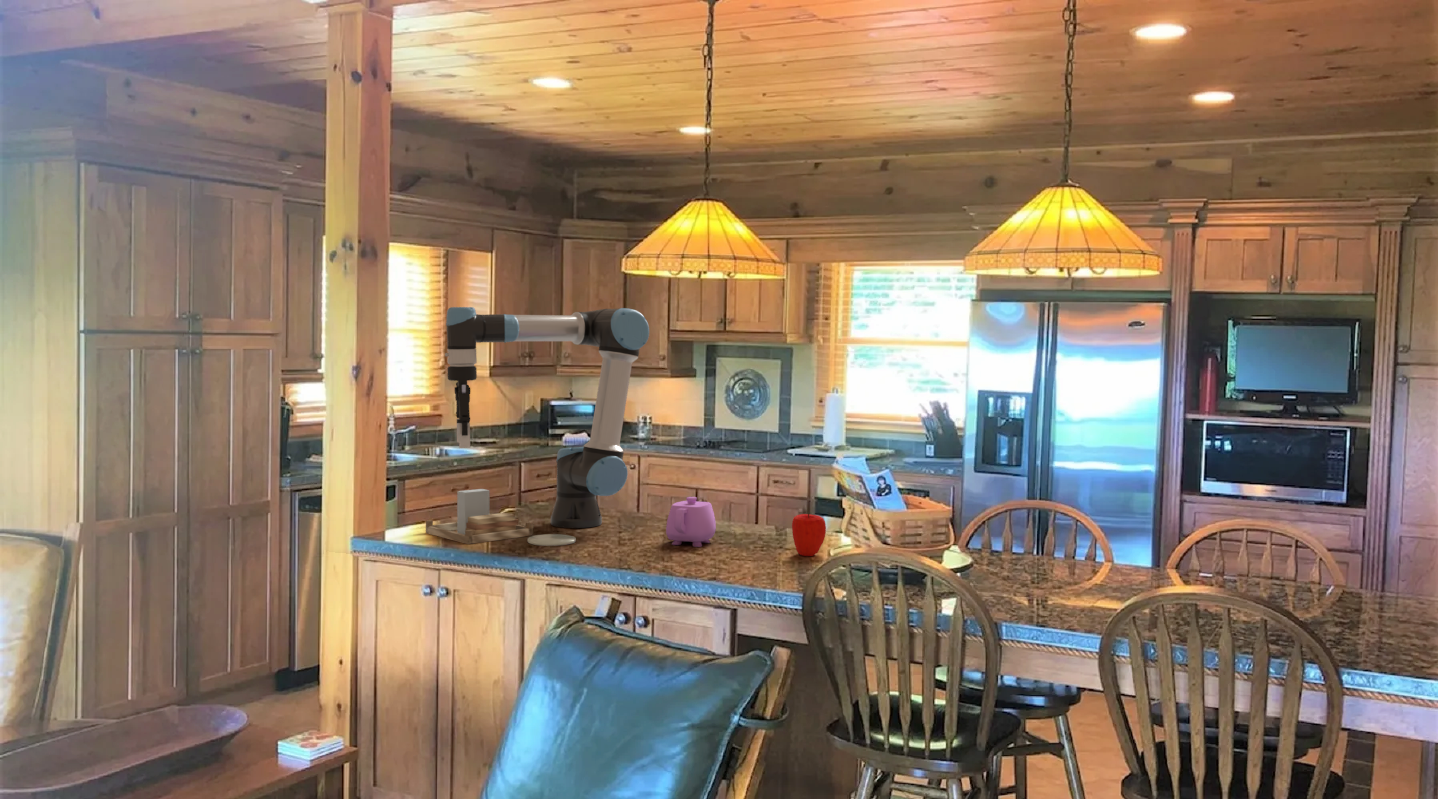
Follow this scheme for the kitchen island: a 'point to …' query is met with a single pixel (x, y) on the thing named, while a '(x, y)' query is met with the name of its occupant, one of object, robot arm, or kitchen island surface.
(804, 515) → the apple
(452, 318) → the robot arm
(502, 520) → the offcut stack
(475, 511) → the gray rectangular block
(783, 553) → the kitchen island surface
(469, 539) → the rack
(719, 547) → the kitchen island surface
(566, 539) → the plate
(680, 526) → the teapot
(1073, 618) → the kitchen island surface
